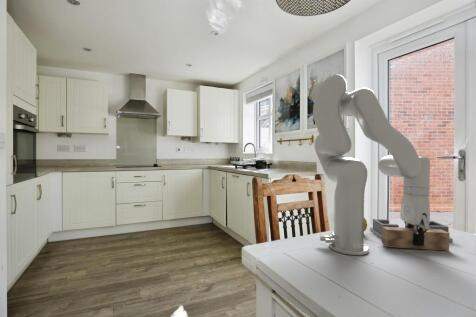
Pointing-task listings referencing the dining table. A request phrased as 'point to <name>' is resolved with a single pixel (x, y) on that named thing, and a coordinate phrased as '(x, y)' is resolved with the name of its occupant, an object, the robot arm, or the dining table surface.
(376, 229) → the grey stand
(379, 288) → the dining table surface
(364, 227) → the lemon
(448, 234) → the slat
